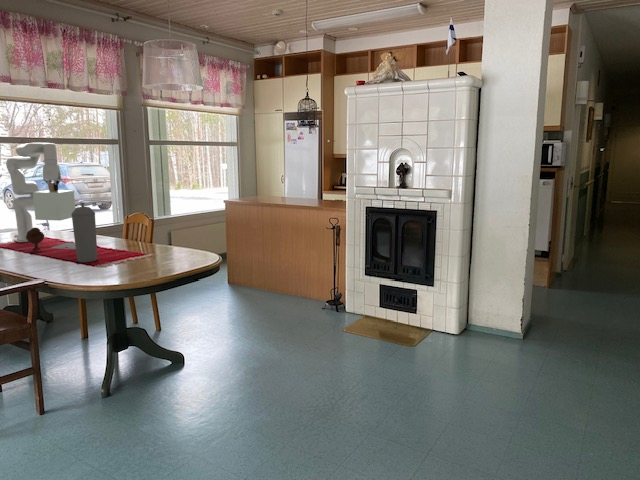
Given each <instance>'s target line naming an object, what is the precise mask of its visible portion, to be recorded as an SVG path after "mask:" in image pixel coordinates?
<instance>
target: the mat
mask: <svg viewBox="0 0 640 480" xmlns="http://www.w3.org/2000/svg"><path fill="white" fill-rule="evenodd" d="M65 247H68V248H65ZM51 249H60V250H63V249H64V250H76V246H75V242H70V241H69V242H66V243H62V244H58V245H55V246H52V247H51Z"/></svg>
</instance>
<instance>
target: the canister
mask: <svg viewBox="0 0 640 480" xmlns="http://www.w3.org/2000/svg"><path fill="white" fill-rule="evenodd" d="M71 215H72V218H71V221H72V229H73V236H74V237H73V239H74V243H75V246H76V249H75V253H76V260H77V262H78V263H92V262H95V261H97V260H98V244H97V243H98V242H97V241H98V240H97V224H96V223H97V222H96V211H94V210H93V209H92V208H91V207H90V206H85V202H80V206H77V207H75V210H74V211H73V212H72V214H71Z"/></svg>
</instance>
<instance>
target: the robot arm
mask: <svg viewBox="0 0 640 480" xmlns="http://www.w3.org/2000/svg"><path fill="white" fill-rule="evenodd" d="M15 153H16V154H17V155H18V156H12V157H9V158H7V159H6V161H5V165H6V170H7V171H8V173H9V176H10V182H11V186H12V187H11V188H12V191H13V194H14V195H17V196H19V197H16V198H13V200H12V206H13V209H14V213H15V219H16V229H17V234H15V235H14V236H13V238H14V239H16V240H15V241H16V243H17V242H18V243H28V242H29V241H28V240H27V239H26V236H27V232H28V231H29V230H31V229H32V228H34V226H33V219H32V218H33V217H32V215H31V213H30V212H29V210H31V211H32V210H34V200H33V192H38V191H40V188H39V186H38V184H37V182H36V181H32V180H27V181H26V176H25V174H24V172H23V171H22V169H23V170H26V169H27V170H29V169H30V170H31V169H35V168H36V167H37V164H38V161H39V159H40V156H41V155H43V160H42V163H43V165H42V181H44V182H45V183H46V184H47V187H48V188H49V185H48V182H54V184H55V185H54V191H57V190H59V184H60V182H62V181H63V178H62V174H61V173H62V172H61V167H60V166H59V164H58V163H59V162H58V154H57V145H56V143H53V142H28V143H25V144H19V145H18V146H17V147H16V148H15ZM25 195H29V196H25ZM29 243H30V242H29Z"/></svg>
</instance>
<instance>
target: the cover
mask: <svg viewBox="0 0 640 480" xmlns="http://www.w3.org/2000/svg"><path fill="white" fill-rule="evenodd" d="M48 185H49V187H48V189H47V190H39V191H38V192H33V200H34V209H33V211H34V219H35V220H36V221H37V220H38V221H64V220H68V219H72V215H71V214H72V212H73V211H74V210H75V209H76V198H75V190H71V189H68V190H66V189H58V190H57V191H54V185H55V184H54V181H52V182H48V184H47V186H48Z"/></svg>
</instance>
